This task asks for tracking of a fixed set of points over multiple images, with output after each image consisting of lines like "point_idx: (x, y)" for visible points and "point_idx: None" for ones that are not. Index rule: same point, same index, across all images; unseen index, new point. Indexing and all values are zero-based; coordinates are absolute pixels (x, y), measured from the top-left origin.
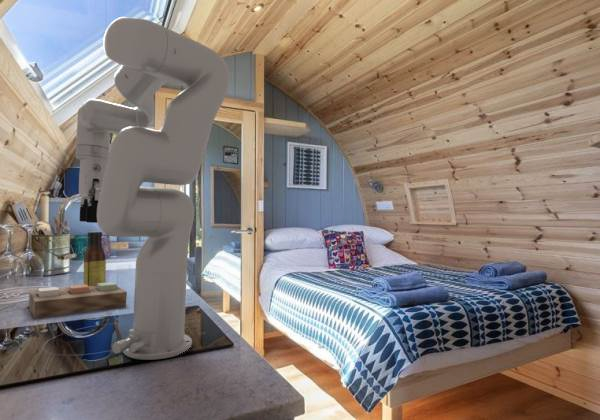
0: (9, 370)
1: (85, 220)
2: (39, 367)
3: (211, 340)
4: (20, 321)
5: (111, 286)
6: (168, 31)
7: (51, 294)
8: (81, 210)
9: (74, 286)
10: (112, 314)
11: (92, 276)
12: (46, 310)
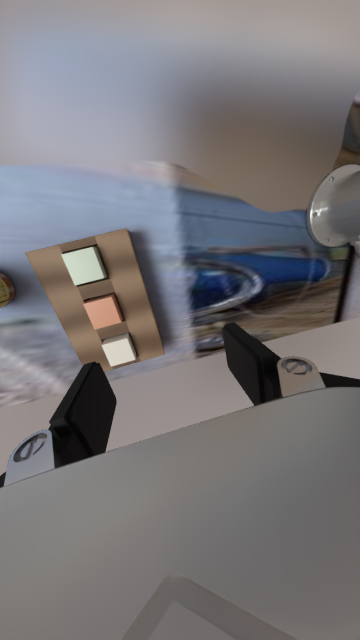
0: (310, 327)
1: (109, 387)
2: (317, 310)
3: (352, 134)
4: (173, 353)
5: (97, 257)
6: None
7: (131, 344)
8: (104, 443)
9: (103, 320)
10: (177, 255)
11: None
12: (160, 336)
